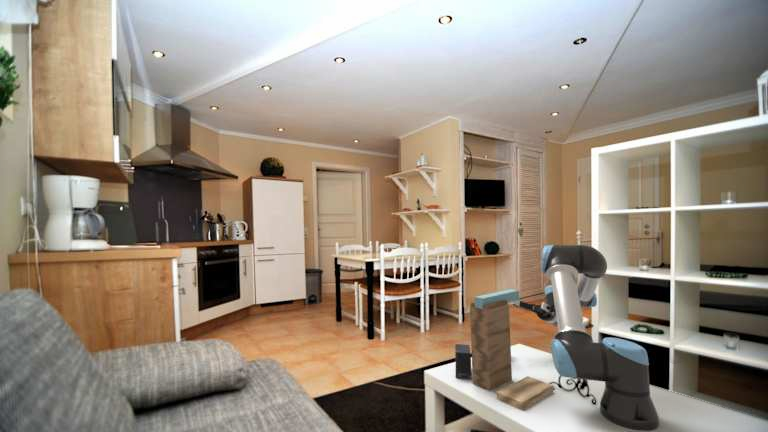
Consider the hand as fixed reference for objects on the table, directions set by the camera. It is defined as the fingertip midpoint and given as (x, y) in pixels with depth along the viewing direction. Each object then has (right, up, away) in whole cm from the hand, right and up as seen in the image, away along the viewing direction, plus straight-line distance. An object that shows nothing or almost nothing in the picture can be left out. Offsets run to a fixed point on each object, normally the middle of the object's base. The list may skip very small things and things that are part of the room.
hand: (526, 302), depth 149 cm
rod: (-16, +2, -10) cm, 19 cm away
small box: (-29, -29, -5) cm, 41 cm away
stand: (-19, -28, -14) cm, 37 cm away
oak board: (-11, -27, -26) cm, 39 cm away
